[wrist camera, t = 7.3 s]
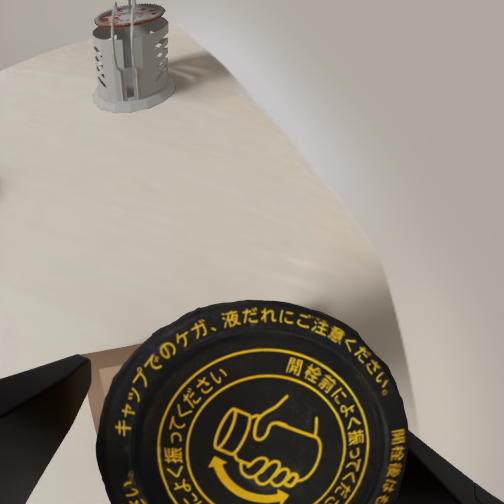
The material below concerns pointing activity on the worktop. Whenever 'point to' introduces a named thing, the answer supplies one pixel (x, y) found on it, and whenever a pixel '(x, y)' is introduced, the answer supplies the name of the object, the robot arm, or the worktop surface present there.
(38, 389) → the robot arm
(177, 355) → the condiment
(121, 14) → the french press
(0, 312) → the worktop surface
